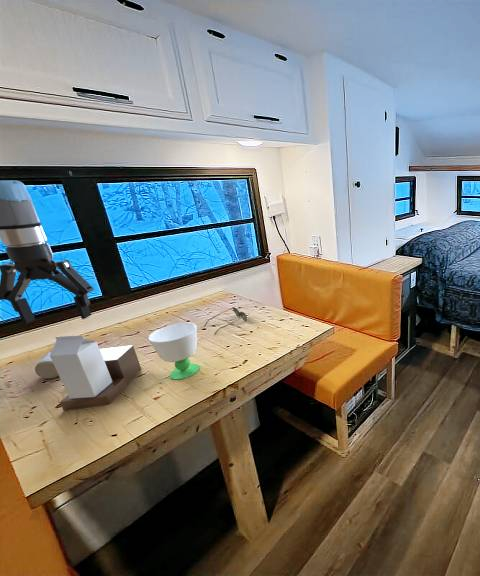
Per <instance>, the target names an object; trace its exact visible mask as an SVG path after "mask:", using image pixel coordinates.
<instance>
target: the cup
mask: <svg viewBox="0 0 480 576" xmlns="http://www.w3.org/2000/svg"><path fill="white" fill-rule="evenodd" d="M148 341H149V343H150V345H151V346H152V347H153V349H154V351H155V352H156V354H157V356H158V357H159V358H160V359H161V360H162V361H164V362H166V363H174V367H175V368H174V369H173V370H172V371H171V372H170V373H169V378H170V379H171V380H177V381H178V380H184V379H187V378H190V377H192V376H194V375H195V374H197V373H198V372H199V371H200V369H201V368H200V365H199V364H198V363H191V360H190V357H192V356H193V355H194V354H195V353H196V351H197V349H198V327H197V324H195V323H193V322H177V323H172V324H169V325H165V326H163V327H160V328H158V329H156V330H154V331H152V333H150V335H148Z"/></svg>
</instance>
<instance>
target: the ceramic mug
mask: <svg viewBox="0 0 480 576" xmlns="http://www.w3.org/2000/svg"><path fill="white" fill-rule="evenodd" d="M51 351H52V350H50V351H49V352H48V353H47V354H46V355H44V357H42V359H40V361H38V362H37V364H36V365H35V367H34V372H35V374H36V375H37V376H38V377H40V378H43V379H55V378H57V377H59V374H58V372H57V370H56V368H55V366H54V364H53V362H52V359H51V357H50V354H51Z"/></svg>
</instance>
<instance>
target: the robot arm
mask: <svg viewBox="0 0 480 576" xmlns="http://www.w3.org/2000/svg"><path fill="white" fill-rule="evenodd" d="M37 213H38V212H37V211H36V208H35V205H34V203H33V198H32V196H31V195H30V193H29V191H28V189H27V187H26V185H25V184H24V182H22V181H20V180H14V179H13V180H12V179H11V180H10V179H9V180H8V179H7V180H3V179H2V180H0V241H1V243H2V245H3V246H7V247H6V248H5V252H6V254H7V256H8V258H9V261H11V262H7V263H5V264H1V265H0V273H1V275H0V301H3V300H5V301H8V302H10V304H11V306H12V309H13V311H14V312H16V313H17V314H18V315H19V317H20V320H21V321H22V323H23V325H27V324H29V323H31V322H34V321H36V317H35V315H34V312H33V310H32V309H31V306H30V303H29V302H28V299H27V297H24V293H25V292H26V290H27V288H28V286H29V285H30V283H31V282H32V281H36V280H43V281H44V280H49V281H50V282H54V283H55V284H57V285H59V286H61V288H63V289H65V290H67V291H68V292H70V293H71V294H73V295H75V296H73V300H74V303H75V305H76V308H77V310H78V313H79V316H80V318H81V320H85V319H87V318H89V317H90V316H92V312H91V309H90V305H91V301H90V298H89V296H88V294H89V293H91V292H93V291H94V290H95V288H94V287H93V286H92V285H91V284H90V283H89V282H88V281H87V280H86V279H85V278H84V277H83V276H82V275H81V274H80V273H79V272H78V271H77V270H76V269H75V268H74V267H73V266H72V263H71V261H70V260H69V259H64V260H61V261H55V260H54V258H53V257H54V254H53V250H52V249H51V246H50V244H49V243H48V242H46V241H48V239H47V236H46V234H45V232H44V229H43V226H42V223H41V221H40V218H39V215H38V214H37ZM17 272H18V273H19V275H18V276H17V278H16V275H17ZM15 282H16V283H15Z"/></svg>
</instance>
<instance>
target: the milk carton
mask: <svg viewBox="0 0 480 576" xmlns="http://www.w3.org/2000/svg"><path fill="white" fill-rule="evenodd" d="M54 338H55V343H54V345H53V346H52V349H51V350H50V351H51V354H50V357H51V359H52V362H53V364H54V366H55V368H56V370H57V372H58V374H59V376H58V377H59V379H60V381H61V383H62V386H63V388H64V389H65V391H66V393H67V395H68V396H69V398H70V399H74V398H87V397H95V396H97V395H98V394H99V393H100V392H101V391H103V390H104V389H105V388H106V387H107V386H108V385H110V384H111V383H112V379H111V376H110V374H109V371H108V369H107V366H106V364H105V361H104V359H103V356H102V354H101V351H100V349H101V348H100V346H99V344H98V342H97V340H93V339H90V338H89V339H88V338H84V336H83V334H75V335H59V336H55V337H54Z"/></svg>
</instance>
